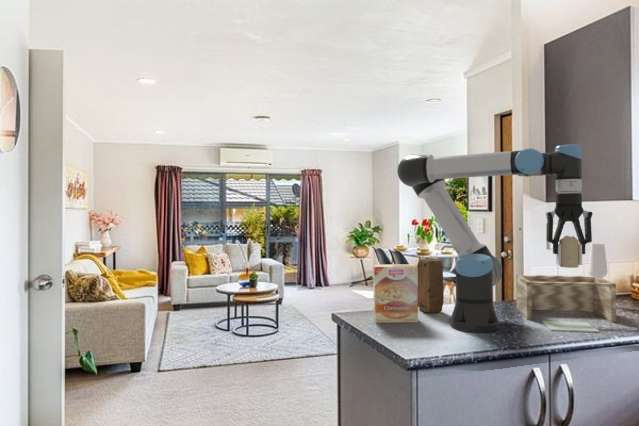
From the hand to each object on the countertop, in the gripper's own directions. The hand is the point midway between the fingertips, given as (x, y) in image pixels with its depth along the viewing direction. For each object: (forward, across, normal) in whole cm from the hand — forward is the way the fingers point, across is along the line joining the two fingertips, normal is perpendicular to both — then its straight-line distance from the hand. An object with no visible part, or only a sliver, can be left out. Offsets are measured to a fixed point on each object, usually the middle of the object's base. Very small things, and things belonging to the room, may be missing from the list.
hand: (568, 264), depth 154 cm
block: (+21, -44, +18) cm, 52 cm away
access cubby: (+21, +3, +18) cm, 27 cm away
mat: (+21, 0, 0) cm, 21 cm away
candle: (+1, 0, 0) cm, 1 cm away
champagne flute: (+21, +22, +40) cm, 50 cm away
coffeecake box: (+21, -56, +1) cm, 60 cm away
